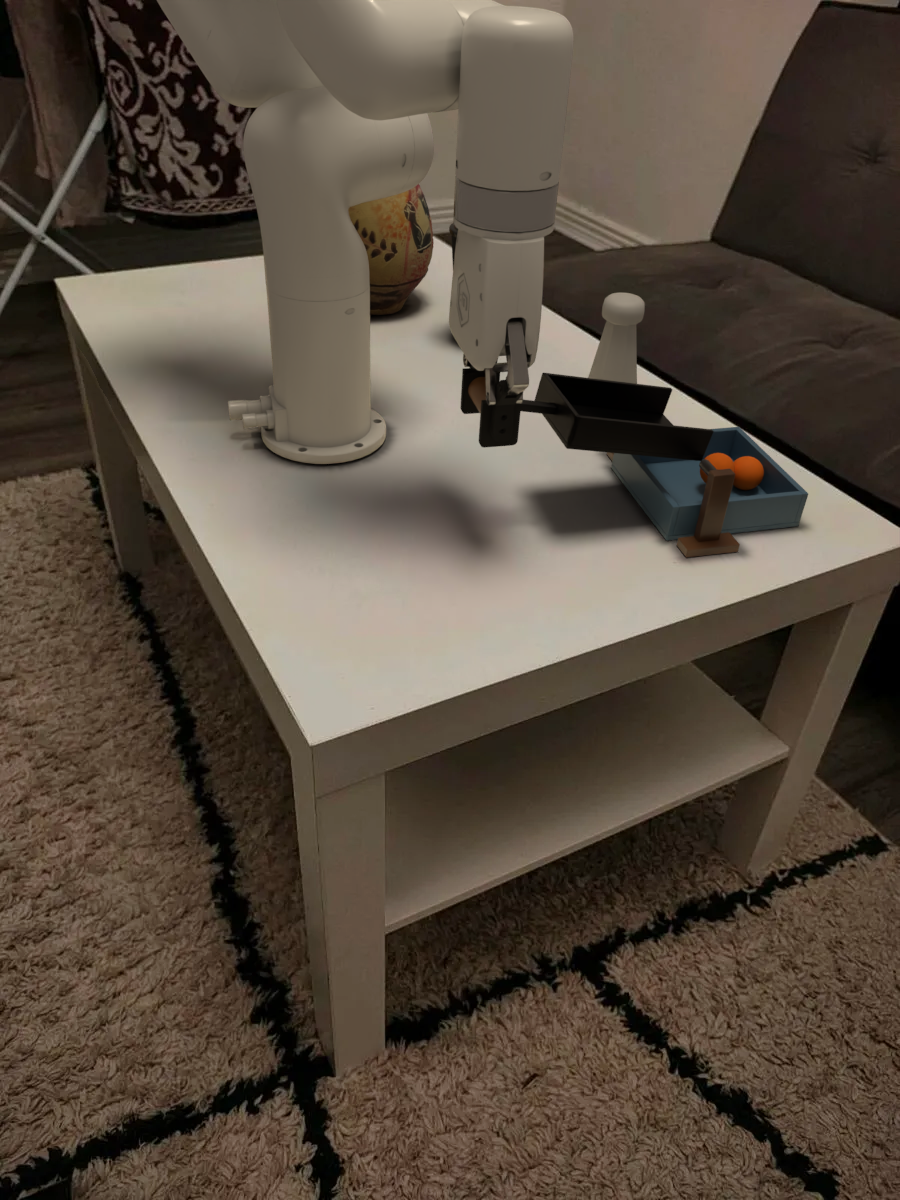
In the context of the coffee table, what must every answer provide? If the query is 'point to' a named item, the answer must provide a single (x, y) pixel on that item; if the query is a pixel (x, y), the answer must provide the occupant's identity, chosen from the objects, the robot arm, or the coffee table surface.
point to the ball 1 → (718, 463)
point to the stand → (710, 515)
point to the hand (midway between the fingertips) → (488, 425)
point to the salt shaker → (618, 339)
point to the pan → (609, 417)
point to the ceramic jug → (394, 246)
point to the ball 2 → (747, 473)
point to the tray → (678, 487)
